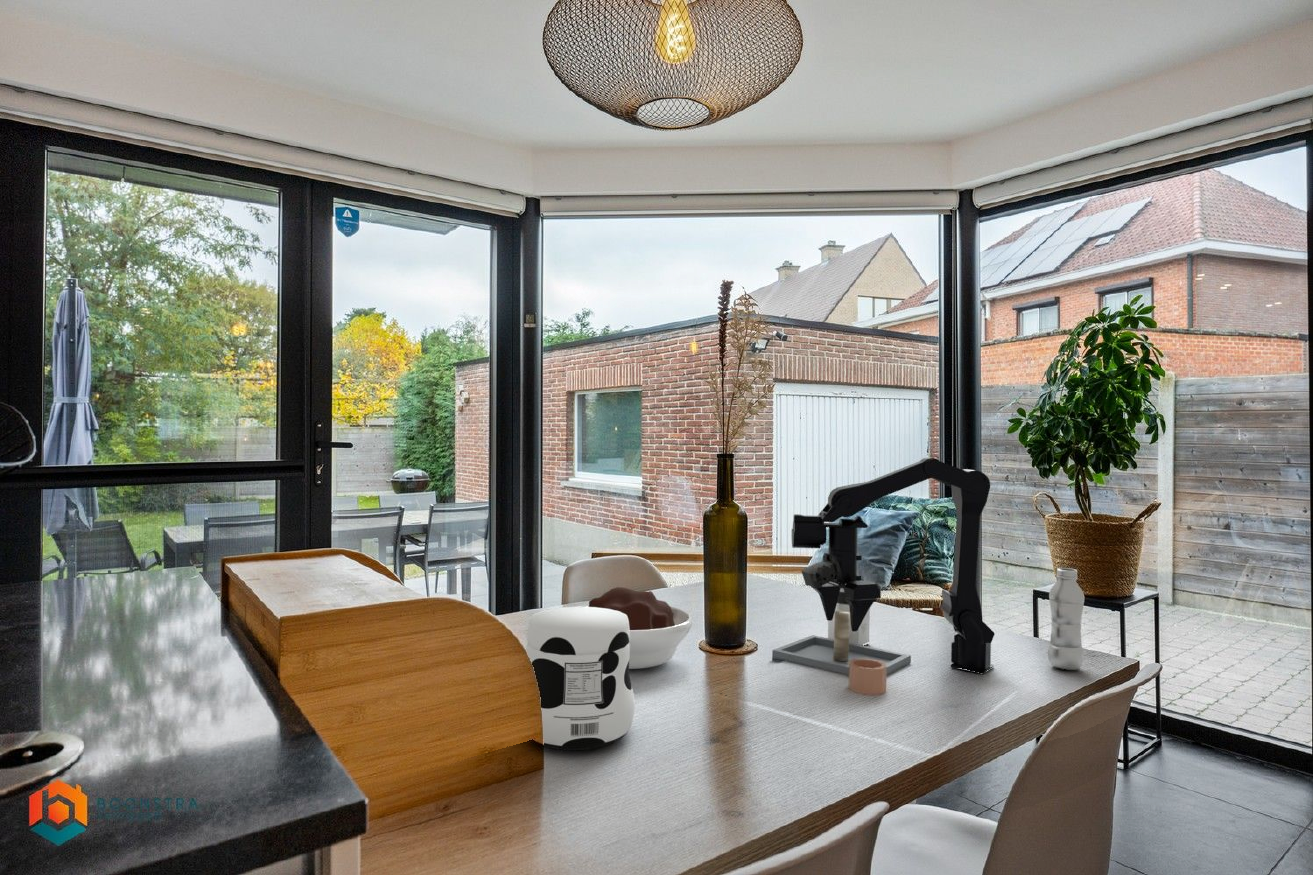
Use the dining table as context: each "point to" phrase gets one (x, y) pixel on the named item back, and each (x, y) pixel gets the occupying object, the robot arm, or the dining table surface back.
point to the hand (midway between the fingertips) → (841, 625)
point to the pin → (841, 636)
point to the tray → (822, 649)
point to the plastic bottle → (1066, 621)
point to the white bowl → (647, 625)
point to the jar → (856, 636)
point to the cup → (867, 676)
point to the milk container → (582, 675)
